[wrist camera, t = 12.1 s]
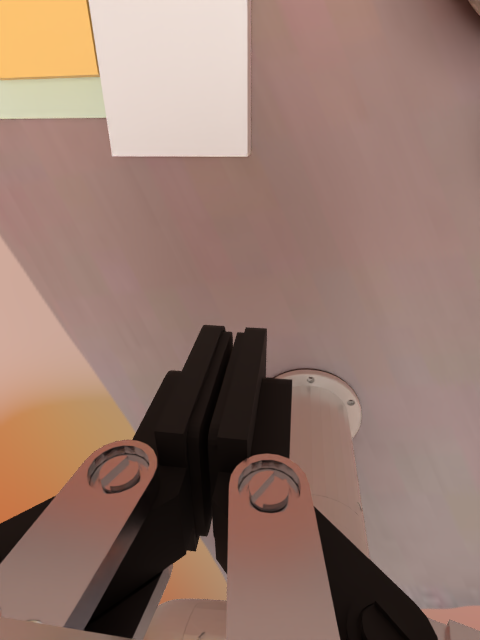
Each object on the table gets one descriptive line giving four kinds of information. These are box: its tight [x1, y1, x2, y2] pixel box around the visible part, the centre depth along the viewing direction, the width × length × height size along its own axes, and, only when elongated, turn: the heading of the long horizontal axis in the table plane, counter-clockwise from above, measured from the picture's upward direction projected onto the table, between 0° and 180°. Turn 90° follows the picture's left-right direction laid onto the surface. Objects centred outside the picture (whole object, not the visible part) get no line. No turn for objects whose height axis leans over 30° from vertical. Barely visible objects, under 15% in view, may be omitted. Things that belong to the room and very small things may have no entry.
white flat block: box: [89, 0, 251, 157], centre depth 30 cm, size 20×12×2 cm, turn 1°
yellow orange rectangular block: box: [0, 0, 100, 80], centre depth 32 cm, size 7×10×2 cm
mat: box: [0, 77, 106, 119], centre depth 33 cm, size 14×14×1 cm
